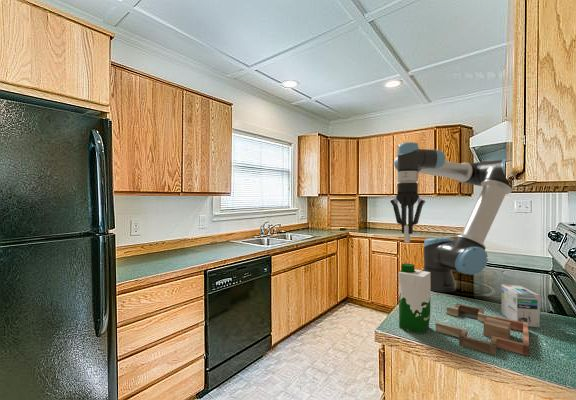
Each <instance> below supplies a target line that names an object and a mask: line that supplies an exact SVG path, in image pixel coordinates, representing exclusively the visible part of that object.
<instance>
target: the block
mask: <svg viewBox="0 0 576 400" xmlns="http://www.w3.org/2000/svg"><path fill="white" fill-rule="evenodd" d="M483 336H485V337H487V338H490V339H491V338H492V336H495V337H499V338H503V339H507V340H510V337H511V329H510V322H506V321H501V320H497V319H493V318H489V317H487V318H486V320H485V321H484V322H483Z"/></svg>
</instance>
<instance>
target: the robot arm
mask: <svg viewBox="0 0 576 400" xmlns="http://www.w3.org/2000/svg"><path fill="white" fill-rule="evenodd" d="M396 155H397V157H395V159H394V163H393V165H394V168H395V169H396V170H397V182H398V183H397V191H396V193H397V194H396V195H395V198H394V199H391V200H389V201H390V204H391V205H392V207H393V212H394V216H395V220H396V223H397V224H398V225H401V234H403V237H404V238H403V239H404V240H403V242H404V243H411V235H413V233H414V228H413V227H414V225H418V224H419V221H420V216H421V213H422V209H423V206H424V205H425V203H426V200H424V199H421V198H420V195H419V183H418V181H419V174H423V175H429V176H436V177H443V178H446V179H451V180H452V179H454V180H456V181H457V182H459V183H462V184H468V185H473V186H479V187H482V189H481V192H480V194H479V196H478V198H477V200H476V202H475V204H474V206H473V209H472V211H471V213H470V215H469V217H468V219H467V222H466V223H465V225H464V228H463V230H462V232H461V234H458V235H456V236H455V237H454V239H452V238H451V237H433V238H426V239H424V244H423V245H424V246H423V271H426V272H430V284H431V291H432V292H439V293H453V292H455V291H457V283H456V281H455V280H456V279H455V277H454V275H453V271H454V272H455V271H456V272H459V273H461V274H467V275H471V276H472V275H476V274H479V273H481V272H482V271H484V269H485V268H486V266H487V264H488V253H487V251H486V248H487V247H486V245H485V243H484V242H485V240H486V239H487V236H488V234H489V232H490V229H491V227H492V225H493V222H494V220H495V218H496V216H497V214H498V212H499V209H500V208H501V206H502V204H503V201H504V198H505V196H506V195H509V194H511V193H512V191H513V190H514V188H513V189H512V188H511V187H510V185H509V183H508V181H507V180H506V178H505V161H506V158H503V159H494V160H488V161H487V160H485V161H484V160H483V161H479V162H477V161H476V162H467V161H466V162H461V163H460V162H454V161H450V160H446V155H445V153H444V151H442V150H440V149H428V148H427V149H425V148H424V149H423V148H420V147H419V144H418V143H417V142H412V141H411V142H403V143H399V145H398V146H397V154H396ZM398 203H399V204H400V208H401V212H400V209H399V204H398ZM416 203H417V207H416V210H415V213H414V205H415V204H416ZM414 214H415V215H414ZM407 217H408V218H407Z"/></svg>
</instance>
